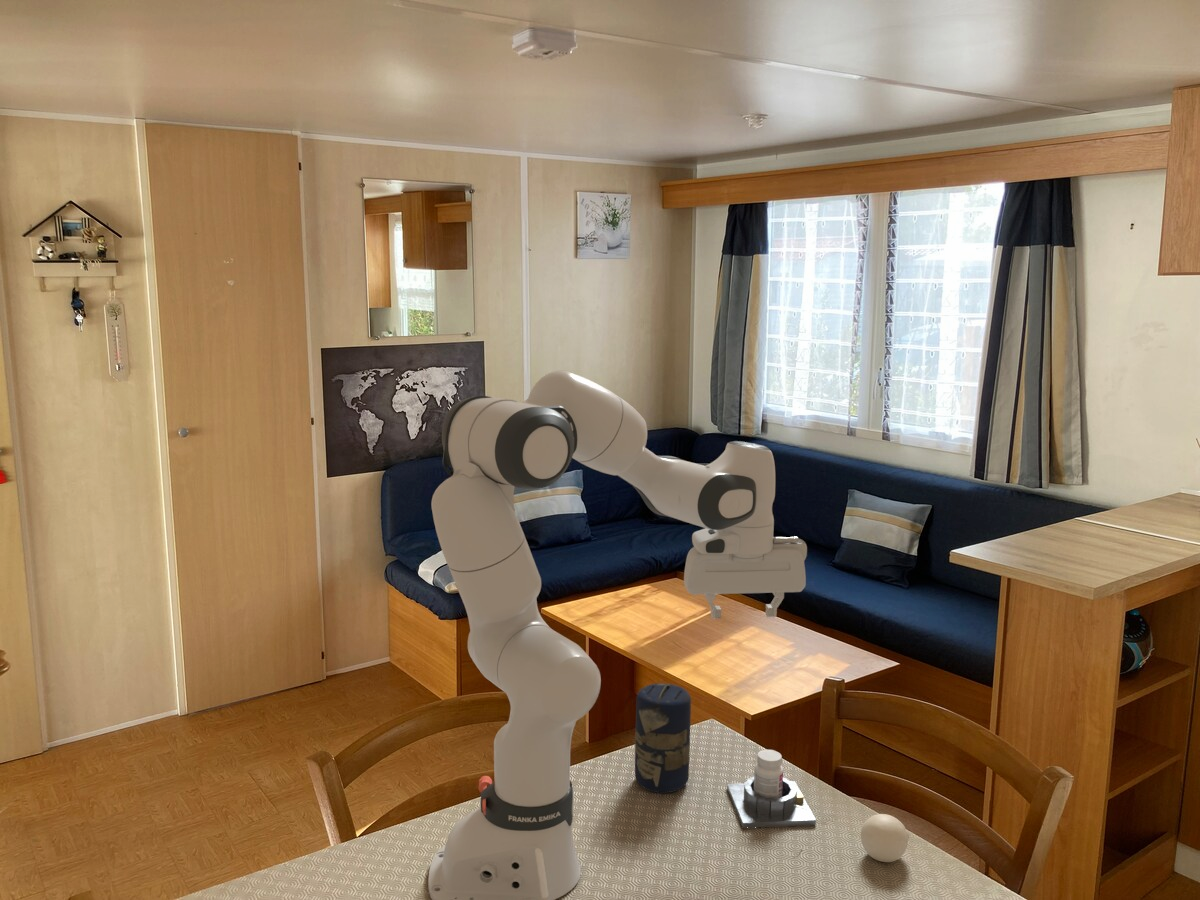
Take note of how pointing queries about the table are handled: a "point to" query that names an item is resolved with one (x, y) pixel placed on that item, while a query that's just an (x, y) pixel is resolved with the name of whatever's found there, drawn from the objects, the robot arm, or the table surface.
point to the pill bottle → (768, 774)
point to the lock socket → (770, 806)
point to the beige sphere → (884, 837)
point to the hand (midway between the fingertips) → (743, 616)
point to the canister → (662, 737)
